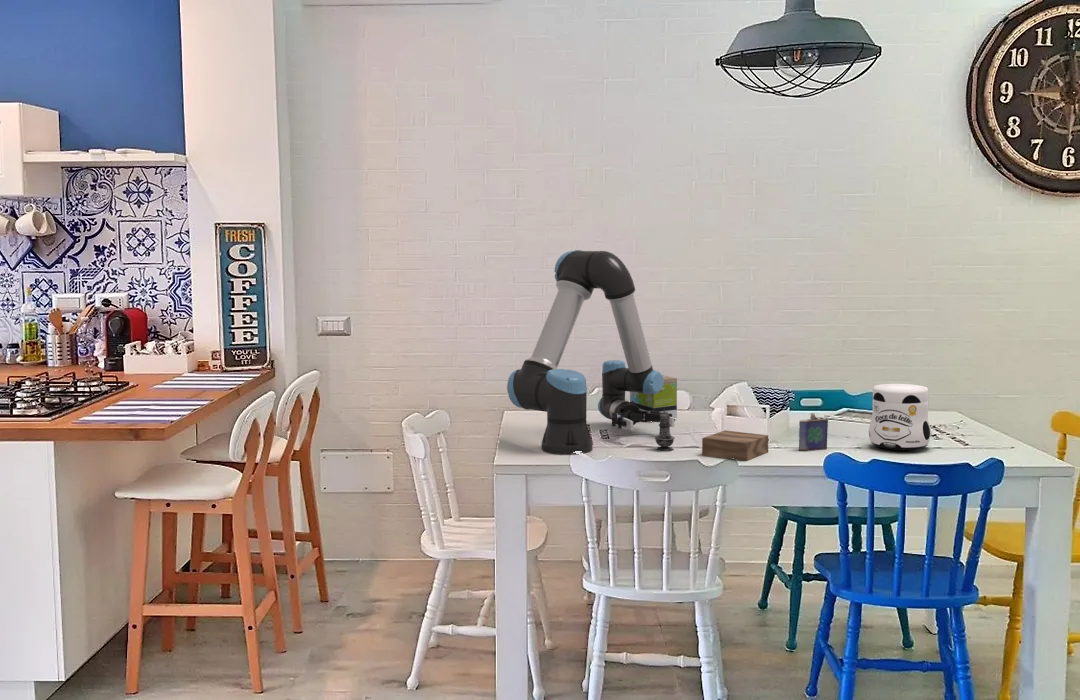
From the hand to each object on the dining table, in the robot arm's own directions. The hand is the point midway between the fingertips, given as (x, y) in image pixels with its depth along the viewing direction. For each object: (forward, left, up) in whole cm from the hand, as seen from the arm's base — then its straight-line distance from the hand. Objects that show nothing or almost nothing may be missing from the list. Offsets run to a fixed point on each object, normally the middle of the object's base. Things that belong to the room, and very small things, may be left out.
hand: (652, 424), depth 335 cm
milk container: (+34, -63, -6) cm, 72 cm away
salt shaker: (-6, -7, -6) cm, 11 cm away
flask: (+18, -43, -6) cm, 48 cm away
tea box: (+37, +22, -6) cm, 44 cm away
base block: (0, -27, -6) cm, 28 cm away
